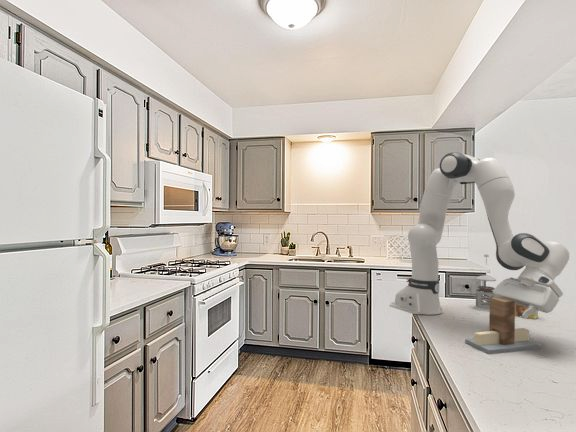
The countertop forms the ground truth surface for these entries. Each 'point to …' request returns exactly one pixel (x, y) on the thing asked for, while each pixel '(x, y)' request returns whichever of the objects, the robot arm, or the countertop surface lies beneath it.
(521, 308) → the candy box
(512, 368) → the countertop surface
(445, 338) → the countertop surface
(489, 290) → the french press
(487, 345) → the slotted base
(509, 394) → the countertop surface
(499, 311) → the walnut block
